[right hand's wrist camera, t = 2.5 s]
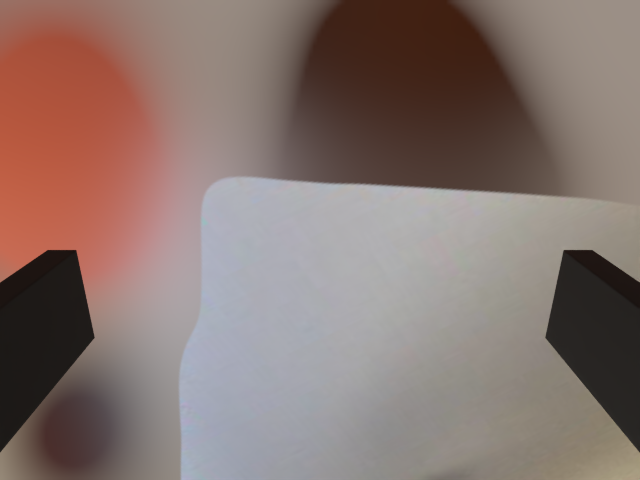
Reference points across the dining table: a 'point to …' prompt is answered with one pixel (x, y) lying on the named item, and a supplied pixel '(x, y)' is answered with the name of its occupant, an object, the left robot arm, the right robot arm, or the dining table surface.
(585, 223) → the dining table surface
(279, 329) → the dining table surface
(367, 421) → the dining table surface
